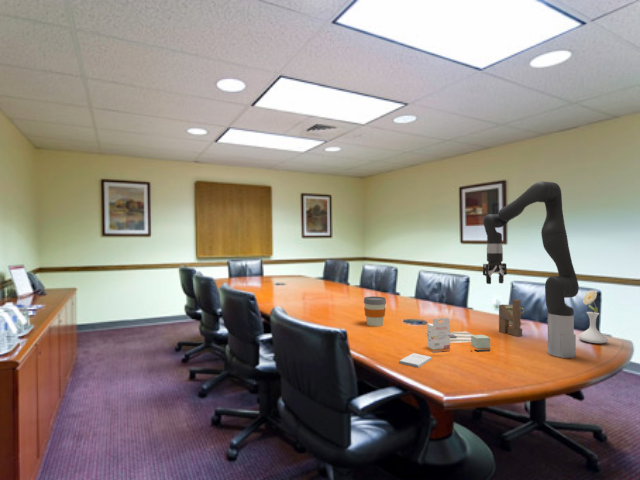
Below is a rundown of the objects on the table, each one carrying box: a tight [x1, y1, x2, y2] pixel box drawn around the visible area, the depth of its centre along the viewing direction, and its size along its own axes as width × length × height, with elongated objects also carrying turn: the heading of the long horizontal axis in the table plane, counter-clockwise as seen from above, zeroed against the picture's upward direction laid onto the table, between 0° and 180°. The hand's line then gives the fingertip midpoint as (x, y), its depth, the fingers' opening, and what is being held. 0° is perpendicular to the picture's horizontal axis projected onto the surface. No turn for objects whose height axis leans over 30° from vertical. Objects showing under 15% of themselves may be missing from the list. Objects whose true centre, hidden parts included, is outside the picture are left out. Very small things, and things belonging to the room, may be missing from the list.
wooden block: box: [498, 298, 523, 337], centre depth 189 cm, size 4×11×18 cm, turn 28°
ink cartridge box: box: [426, 317, 451, 354], centre depth 161 cm, size 9×5×15 cm, turn 105°
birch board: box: [425, 331, 474, 344], centre depth 177 cm, size 18×22×2 cm
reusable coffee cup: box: [363, 296, 387, 327], centre depth 210 cm, size 13×13×15 cm
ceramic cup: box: [503, 304, 525, 326], centre depth 211 cm, size 13×10×10 cm
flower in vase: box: [578, 289, 609, 344], centre depth 173 cm, size 13×11×25 cm
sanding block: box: [470, 334, 491, 353], centre depth 162 cm, size 5×6×6 cm
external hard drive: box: [398, 352, 432, 369], centre depth 147 cm, size 2×8×12 cm
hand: (495, 283), depth 191 cm, fingers open, 8 cm apart
